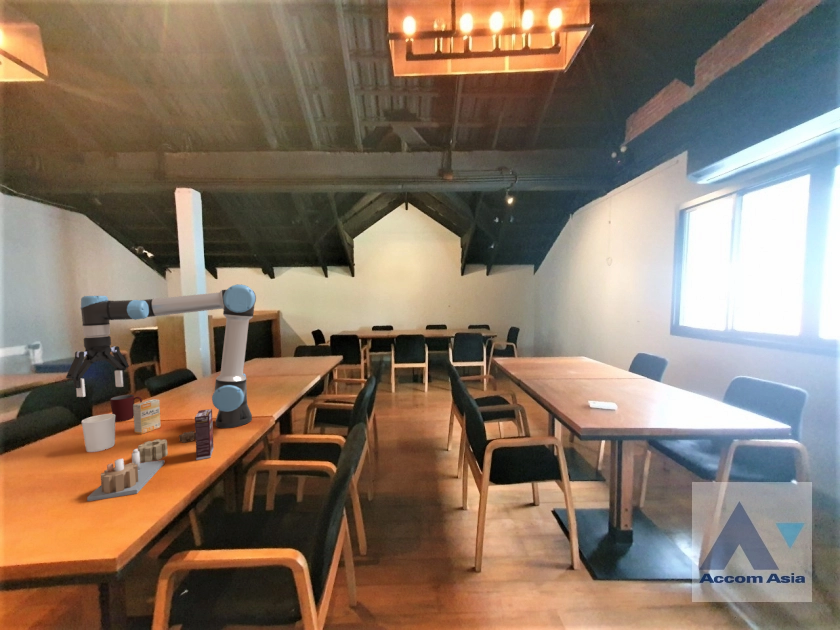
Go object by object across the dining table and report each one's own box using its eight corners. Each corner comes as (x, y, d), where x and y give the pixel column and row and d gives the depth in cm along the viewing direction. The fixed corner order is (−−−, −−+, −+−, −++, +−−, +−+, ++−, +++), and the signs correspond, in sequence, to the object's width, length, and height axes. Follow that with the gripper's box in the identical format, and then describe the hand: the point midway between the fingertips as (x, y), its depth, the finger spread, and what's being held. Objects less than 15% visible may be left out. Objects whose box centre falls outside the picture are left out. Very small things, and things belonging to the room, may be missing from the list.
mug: (145, 414, 175) (144, 393, 174) (139, 419, 167) (137, 397, 166) (116, 417, 170) (115, 395, 170) (108, 423, 162) (106, 400, 162)
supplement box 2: (211, 457, 125) (209, 415, 124) (195, 460, 123) (193, 417, 122) (214, 448, 133) (212, 408, 132) (199, 451, 131) (197, 410, 130)
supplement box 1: (141, 434, 148) (139, 405, 147) (134, 433, 150) (132, 404, 149) (161, 427, 156) (159, 399, 155) (154, 426, 157) (152, 398, 157)
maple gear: (171, 450, 132) (170, 437, 131) (161, 460, 124) (161, 446, 123) (145, 453, 129) (144, 441, 129) (134, 464, 121) (133, 450, 121)
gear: (196, 435, 146) (196, 430, 146) (196, 440, 141) (196, 434, 141) (180, 438, 143) (179, 433, 143) (179, 443, 138) (178, 437, 138)
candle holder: (96, 454, 130) (94, 423, 129) (76, 452, 132) (74, 421, 131) (123, 443, 139) (121, 414, 139) (104, 441, 141) (102, 413, 141)
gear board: (164, 463, 122) (163, 437, 121) (137, 493, 103) (135, 463, 102) (123, 468, 118) (122, 442, 118) (87, 501, 99) (85, 470, 98)
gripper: (122, 332, 143) (125, 382, 144) (48, 340, 118) (53, 401, 119) (137, 332, 141) (141, 383, 142) (66, 340, 117) (71, 401, 118)
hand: (101, 391), depth 131 cm, fingers open, 13 cm apart
